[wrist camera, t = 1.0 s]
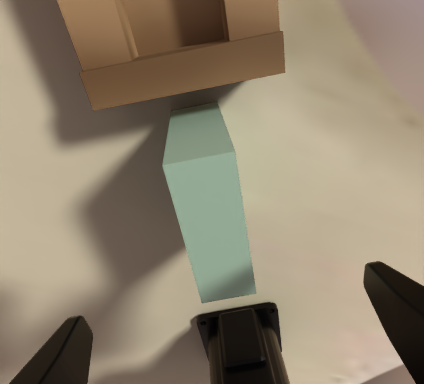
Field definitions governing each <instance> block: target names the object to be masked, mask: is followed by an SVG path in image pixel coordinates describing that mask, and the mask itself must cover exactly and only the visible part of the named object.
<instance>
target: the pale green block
mask: <svg viewBox="0 0 424 384" xmlns="http://www.w3.org/2000/svg"><path fill="white" fill-rule="evenodd" d="M162 166H163V170H164V173H165V177H166V180H167V184H168V187H169V191H170V194H171V197H172V201H173V204H174V208H175V211H176V215H177V218H178V222H179V225H180V229H181V232H182V236H183V239H184V243H185V246H186V250H187V253H188V257H189V260H190V263H191V267H192V270H193V274H194V277H195V281H196V284H197V288H198V291H199V295H200V298H201V302H202V303H206V302H212V301H217V300H223V299H228V298H234V297H239V296H245V295H250V294H256V288H255V281H254V274H253V267H252V261H251V254H250V247H249V241H248V234H247V227H246V220H245V214H244V207H243V200H242V193H241V187H240V180H239V173H238V167H237V160H236V153H235V149H234V147H233V144H232V141H231V138H230V136H229V133H228V130H227V127H226V125H225V122H224V119H223V116H222V114H221V111H220V108H219V106H218V103H217V102H214V103H208V104H203V105H198V106H193V107H188V108H183V109H178V110H173V111H171V116H170V122H169V128H168V134H167V140H166V146H165V152H164V158H163V164H162Z"/></svg>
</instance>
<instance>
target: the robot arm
mask: <svg viewBox="0 0 424 384" xmlns="http://www.w3.org/2000/svg"><path fill="white" fill-rule="evenodd" d="M363 283H364V288H365V290H366V292H367V294H368V296H369V299H370V301H371V303H372V305H373V307H374V309H375V311H376V313H377V315H378V318H379V320H380V322H381V324H382V326H383V328H384V330H385V332H386V334H387V336H388V338H389V340H390V341H391V343H392V345H393V346H394V348H395V350H396V351H397V353H398V355H399V356H400V358H401V360H402V361H403V363H404V365H405V366H406V368H407V369H408V371H409V373H410V374H411V376H412V378H413V379H414V381H415V383H416V384H424V286H422V285H421V284H419V283H417V282H416V281H414V280H412V279H410V278H409V277H407V276H405V275H403V274H402V273H400V272H398V271H396V270H395V269H393V268H391V267H389V266H388V265H386V264H384V263H382V262H380V261H376V262H371V263H367V264H366V265H365V271H364V281H363ZM197 325H198V328H199V331H200V335H201V338H202V341H203V344H204V347H205V350H206V354H207V357H208V360H209V366H210V381H211V384H290V382H289V379H288V375H287V372H286V368H285V365H284V361H283V358H282V354H281V352H282V347H281V337H280V327H279V317H278V309H277V306H276V304H275V303H265V304H260V305H254V306H249V307H243V308H238V309H232V310H227V311H221V312H215V313H210V314H204V315H200V316H199V317H198V318H197ZM92 341H93V333H92V330H91V329H90V327H89V325H88V324H87V322H86V320H85V319H84V317H83V316H74V317H70V318H68V319H67V320H66V321H65V322H64V323H63V324H62V325H61V326H60V327H59V328H58V330H57V331H56V332H55V333H54V334H53V335H52V336H51V337H50V338H49V340H48V341H47V342H46V343H45V344H44V345H43V346H42V347H41V349H40V350H39V351H38V352H37V353H36V354H35V355H34V356H33V357H32V359H31V360H30V361H29V362H28V363H27V364H26V365H25V366H24V367H23V369H22V370H21V371H20V372H19V373H18V374H17V375H16V376H15V377H14V379H13V380H12V381H11V382H10V383H9V384H87V383H88V375H89V366H90V358H91V350H92Z"/></svg>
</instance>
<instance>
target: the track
mask: <svg viewBox="0 0 424 384" xmlns="http://www.w3.org/2000/svg"><path fill="white" fill-rule="evenodd" d="M57 2H58V5H59V7H60V10H61V13H62V16H63V18H64V21H65V24H66V26H67V29H68V32H69V34H70V37H71V40H72V43H73V45H74V48H75V51H76V53H77V56H78V59H79V62H80V64H81V67H82V70H83V71H82V72H80V73H79V74H80V76H81V79H82V82H83V84H84V87H85V90H86V92H87V95H88V98H89V100H90V103H91V106H92V108H93V111H95V110H100V109H105V108H111V107H116V106H121V105H126V104H131V103H136V102H141V101H146V100H151V99H156V98H161V97H166V96H171V95H176V94H181V93H186V92H191V91H196V90H201V89H206V88H211V87H216V86H221V85H226V84H231V83H236V82H241V81H246V80H251V79H256V78H261V77H266V76H271V75H276V74H281V73H285V59H284V39H283V31H280V29H279V11H278V0H57Z"/></svg>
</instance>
